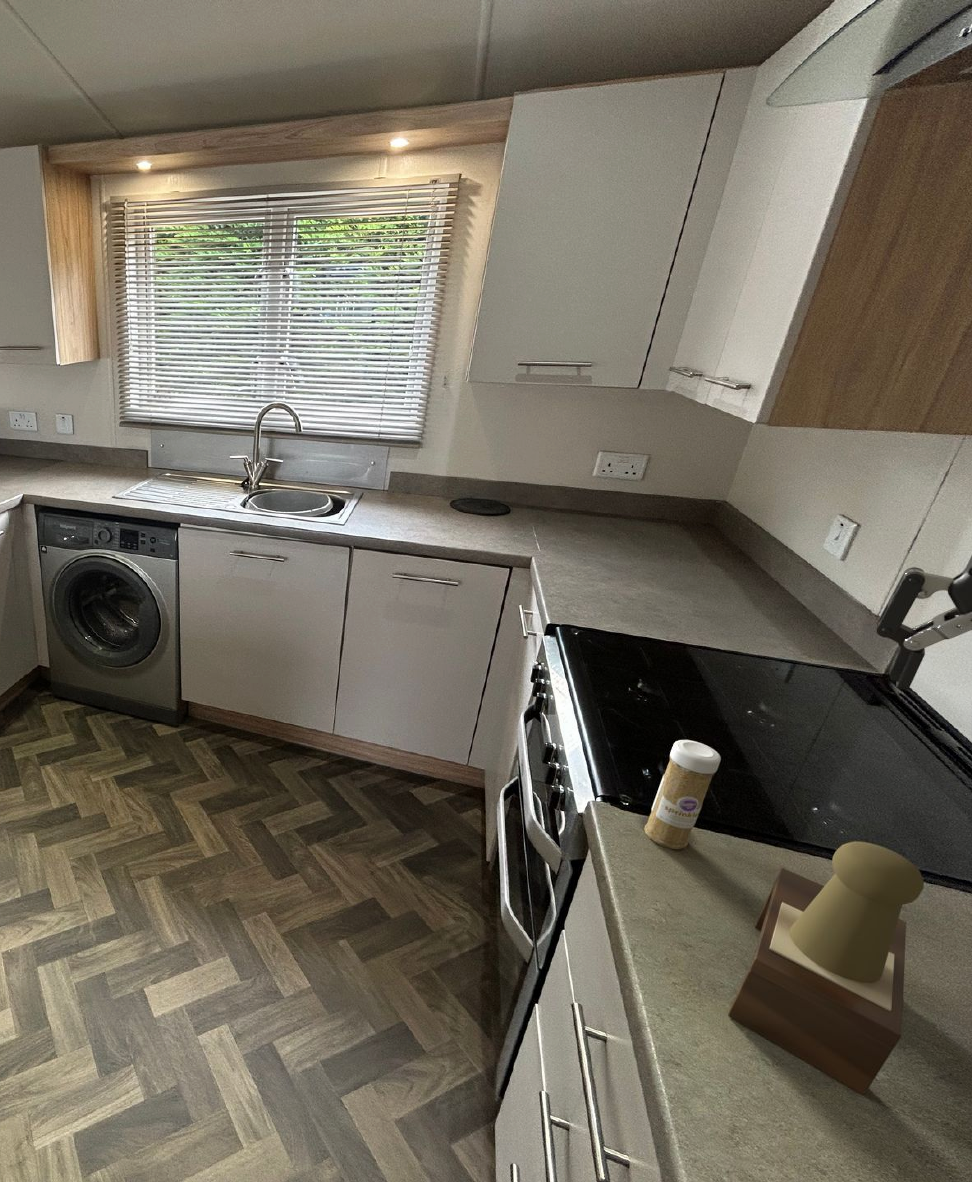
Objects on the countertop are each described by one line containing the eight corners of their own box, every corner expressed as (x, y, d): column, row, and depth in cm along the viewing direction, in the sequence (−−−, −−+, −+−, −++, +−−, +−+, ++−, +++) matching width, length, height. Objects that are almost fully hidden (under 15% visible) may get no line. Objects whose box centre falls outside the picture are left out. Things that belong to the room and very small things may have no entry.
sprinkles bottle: (659, 850, 78) (692, 760, 73) (635, 824, 82) (665, 737, 78) (696, 851, 78) (732, 761, 73) (670, 825, 82) (702, 738, 78)
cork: (781, 912, 61) (825, 821, 57) (868, 941, 58) (920, 847, 54) (798, 961, 56) (847, 865, 52) (893, 995, 53) (953, 896, 49)
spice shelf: (756, 920, 69) (782, 865, 66) (874, 977, 63) (907, 920, 60) (727, 1016, 59) (755, 957, 56) (863, 1096, 53) (903, 1034, 50)
